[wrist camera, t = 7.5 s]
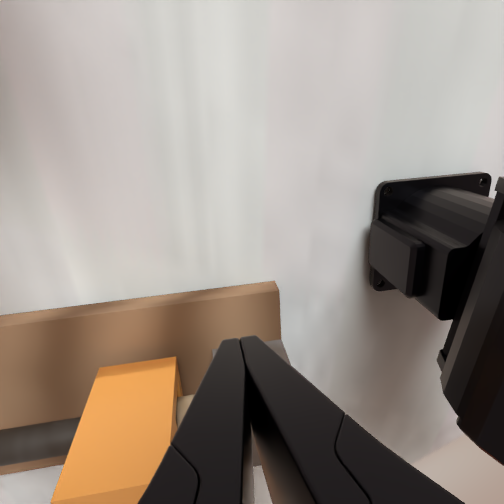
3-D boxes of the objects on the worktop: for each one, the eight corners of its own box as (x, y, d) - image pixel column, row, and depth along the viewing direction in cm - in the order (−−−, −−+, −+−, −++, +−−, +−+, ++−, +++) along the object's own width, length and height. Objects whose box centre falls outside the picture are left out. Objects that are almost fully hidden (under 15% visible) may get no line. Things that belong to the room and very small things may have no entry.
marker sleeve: (176, 356, 19) (167, 480, 13) (186, 417, 21) (183, 553, 15) (99, 367, 19) (50, 502, 12) (116, 429, 20) (81, 575, 14)
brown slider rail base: (274, 280, 21) (304, 343, 15) (280, 411, 24) (305, 499, 19) (-196, 340, 18) (-369, 443, 12) (-107, 476, 22) (-209, 602, 16)
